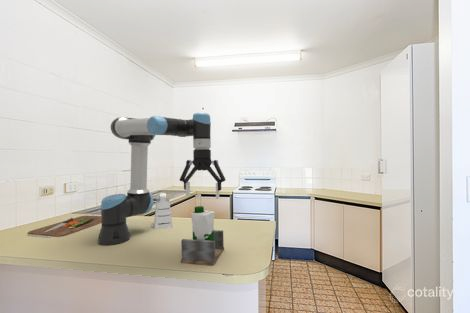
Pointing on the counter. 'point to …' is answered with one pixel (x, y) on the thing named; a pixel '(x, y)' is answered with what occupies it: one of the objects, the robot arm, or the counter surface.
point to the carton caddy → (202, 250)
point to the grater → (162, 212)
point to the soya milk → (203, 224)
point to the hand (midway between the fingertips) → (202, 197)
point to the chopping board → (66, 227)
